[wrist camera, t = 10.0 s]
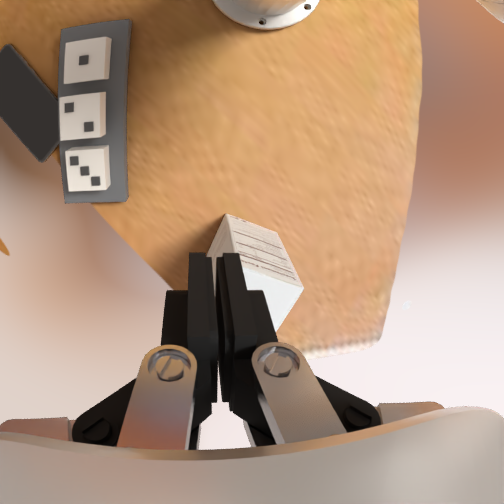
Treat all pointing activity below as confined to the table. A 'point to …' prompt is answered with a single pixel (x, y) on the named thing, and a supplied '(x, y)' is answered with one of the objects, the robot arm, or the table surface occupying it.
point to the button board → (114, 108)
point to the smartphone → (28, 105)
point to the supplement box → (259, 263)
